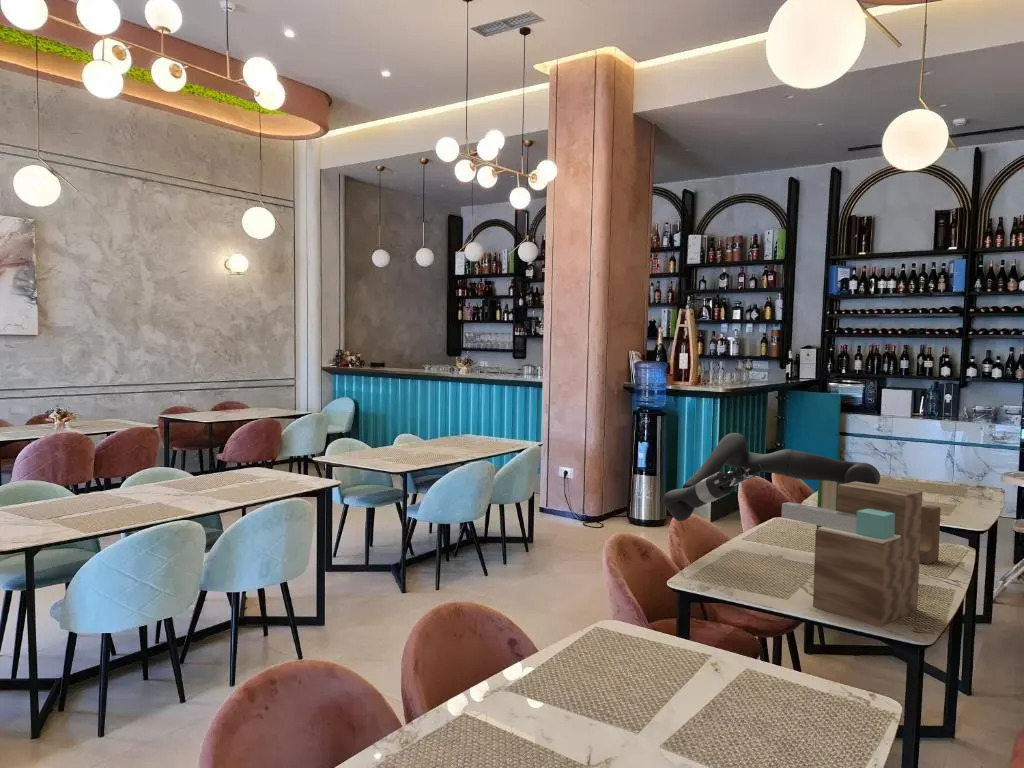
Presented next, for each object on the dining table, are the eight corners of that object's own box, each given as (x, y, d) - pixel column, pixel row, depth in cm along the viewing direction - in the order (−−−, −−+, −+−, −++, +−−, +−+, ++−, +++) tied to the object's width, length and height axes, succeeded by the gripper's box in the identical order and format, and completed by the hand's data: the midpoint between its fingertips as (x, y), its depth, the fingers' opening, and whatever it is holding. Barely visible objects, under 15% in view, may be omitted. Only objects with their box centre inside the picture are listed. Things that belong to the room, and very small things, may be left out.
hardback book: (837, 544, 264) (839, 478, 263) (816, 540, 269) (818, 475, 268) (853, 535, 277) (855, 472, 276) (833, 532, 282) (835, 470, 281)
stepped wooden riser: (851, 591, 212) (855, 481, 211) (917, 609, 198) (922, 491, 196) (812, 606, 199) (817, 489, 198) (880, 626, 185) (885, 500, 183)
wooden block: (927, 565, 240) (929, 510, 239) (912, 561, 244) (914, 507, 243) (938, 560, 246) (941, 507, 245) (924, 557, 249) (926, 504, 248)
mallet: (791, 515, 212) (791, 494, 212) (894, 536, 190) (895, 513, 189) (779, 517, 209) (780, 496, 208) (883, 539, 186) (884, 516, 186)
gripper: (731, 496, 239) (771, 477, 227) (704, 501, 230) (744, 482, 219) (722, 474, 241) (761, 455, 230) (695, 479, 233) (734, 459, 221)
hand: (752, 468), depth 224 cm, fingers open, 8 cm apart
